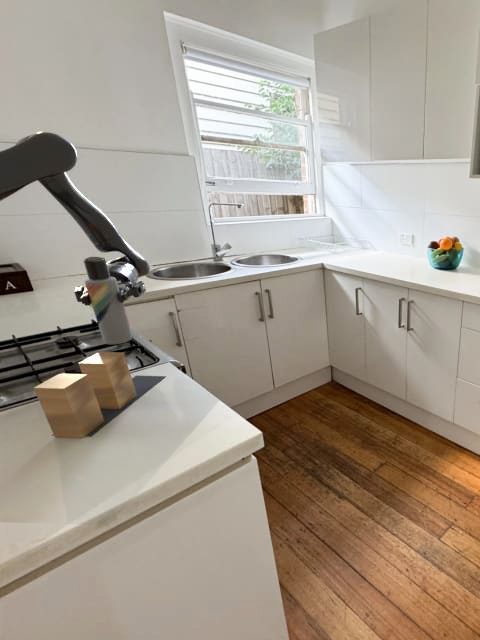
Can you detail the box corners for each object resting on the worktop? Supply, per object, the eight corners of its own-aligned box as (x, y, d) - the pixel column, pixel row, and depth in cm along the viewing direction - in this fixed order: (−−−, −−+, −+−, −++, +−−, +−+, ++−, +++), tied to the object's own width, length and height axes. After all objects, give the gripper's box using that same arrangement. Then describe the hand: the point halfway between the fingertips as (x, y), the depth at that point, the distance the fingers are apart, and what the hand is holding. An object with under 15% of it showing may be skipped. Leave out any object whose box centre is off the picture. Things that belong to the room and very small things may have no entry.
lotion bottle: (124, 334, 96) (100, 254, 88) (138, 338, 93) (115, 257, 85) (98, 341, 91) (71, 258, 83) (112, 346, 89) (86, 261, 81)
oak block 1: (83, 438, 67) (63, 388, 62) (54, 437, 66) (33, 387, 62) (104, 421, 71) (87, 374, 67) (78, 420, 71) (59, 373, 67)
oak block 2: (120, 409, 75) (105, 363, 71) (94, 408, 75) (78, 363, 71) (137, 395, 79) (123, 352, 75) (113, 395, 79) (98, 351, 75)
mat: (92, 438, 67) (91, 436, 67) (52, 437, 67) (51, 435, 67) (167, 377, 87) (166, 376, 87) (136, 376, 87) (136, 375, 87)
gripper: (78, 269, 95) (56, 286, 81) (146, 265, 101) (137, 281, 87) (87, 298, 98) (68, 319, 84) (153, 292, 104) (145, 311, 90)
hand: (103, 299), depth 86 cm, fingers closed on lotion bottle, 5 cm apart
